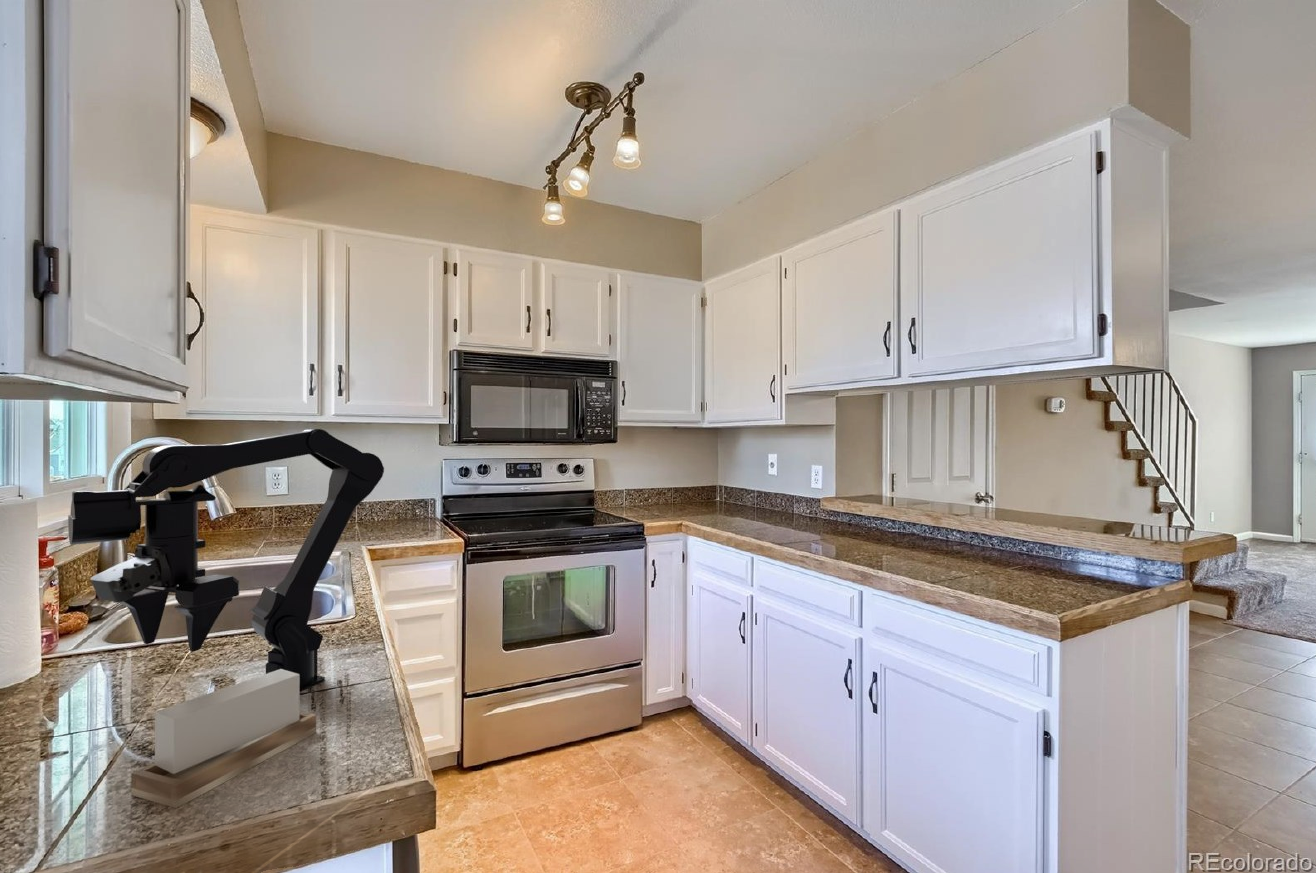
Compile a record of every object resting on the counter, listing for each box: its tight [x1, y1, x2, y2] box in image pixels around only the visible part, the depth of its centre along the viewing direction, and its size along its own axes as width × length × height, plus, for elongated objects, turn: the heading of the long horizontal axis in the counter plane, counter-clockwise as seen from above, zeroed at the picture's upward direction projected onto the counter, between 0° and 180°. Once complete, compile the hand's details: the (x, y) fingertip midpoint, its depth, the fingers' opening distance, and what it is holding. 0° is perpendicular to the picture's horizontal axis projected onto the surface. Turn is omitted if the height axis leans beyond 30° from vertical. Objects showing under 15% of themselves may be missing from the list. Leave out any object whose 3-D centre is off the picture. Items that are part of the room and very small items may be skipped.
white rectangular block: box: [154, 669, 300, 774], centre depth 73 cm, size 14×4×6 cm, turn 153°
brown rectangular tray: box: [130, 710, 317, 809], centre depth 73 cm, size 17×7×2 cm, turn 161°
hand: (171, 647), depth 84 cm, fingers open, 9 cm apart
